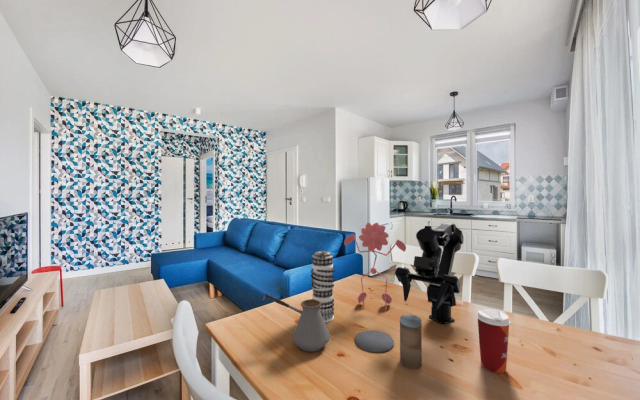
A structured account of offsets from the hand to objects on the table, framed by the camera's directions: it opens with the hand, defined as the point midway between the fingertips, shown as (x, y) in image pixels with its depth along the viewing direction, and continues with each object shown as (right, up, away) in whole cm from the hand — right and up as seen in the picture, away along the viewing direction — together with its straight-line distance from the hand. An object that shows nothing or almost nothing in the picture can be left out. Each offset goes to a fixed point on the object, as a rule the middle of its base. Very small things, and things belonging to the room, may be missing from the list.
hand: (420, 304), depth 79 cm
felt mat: (-13, -13, +4) cm, 19 cm away
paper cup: (+16, -13, -8) cm, 23 cm away
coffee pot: (-38, -14, +4) cm, 40 cm away
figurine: (-6, -14, +35) cm, 38 cm away
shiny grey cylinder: (-5, -13, -7) cm, 16 cm away
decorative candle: (-29, -14, +21) cm, 38 cm away
